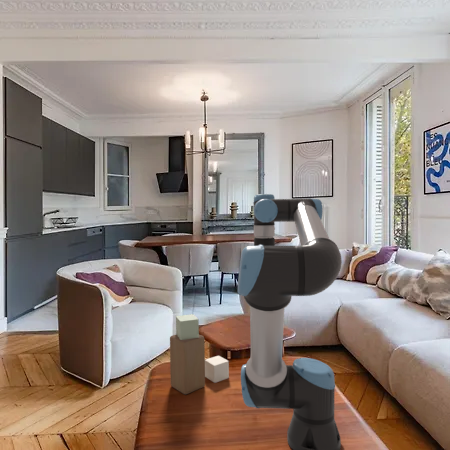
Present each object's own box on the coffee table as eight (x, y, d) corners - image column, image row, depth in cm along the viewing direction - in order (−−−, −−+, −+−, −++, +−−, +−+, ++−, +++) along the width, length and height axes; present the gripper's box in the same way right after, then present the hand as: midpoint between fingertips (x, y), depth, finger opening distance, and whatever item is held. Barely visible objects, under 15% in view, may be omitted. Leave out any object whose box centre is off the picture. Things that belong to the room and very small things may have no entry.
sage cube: (198, 337, 136) (198, 319, 135) (180, 340, 133) (180, 321, 133) (193, 331, 142) (193, 314, 142) (176, 334, 140) (175, 316, 139)
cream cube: (228, 378, 146) (228, 361, 145) (214, 383, 141) (214, 365, 141) (218, 371, 151) (218, 355, 151) (204, 376, 147) (204, 359, 147)
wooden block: (190, 378, 146) (189, 329, 145) (206, 386, 138) (205, 335, 138) (169, 386, 139) (168, 335, 138) (185, 396, 132) (184, 342, 131)
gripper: (291, 239, 120) (291, 302, 121) (257, 234, 143) (258, 287, 144) (272, 240, 117) (272, 304, 118) (240, 235, 141) (241, 288, 142)
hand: (264, 295), depth 131 cm, fingers open, 13 cm apart
